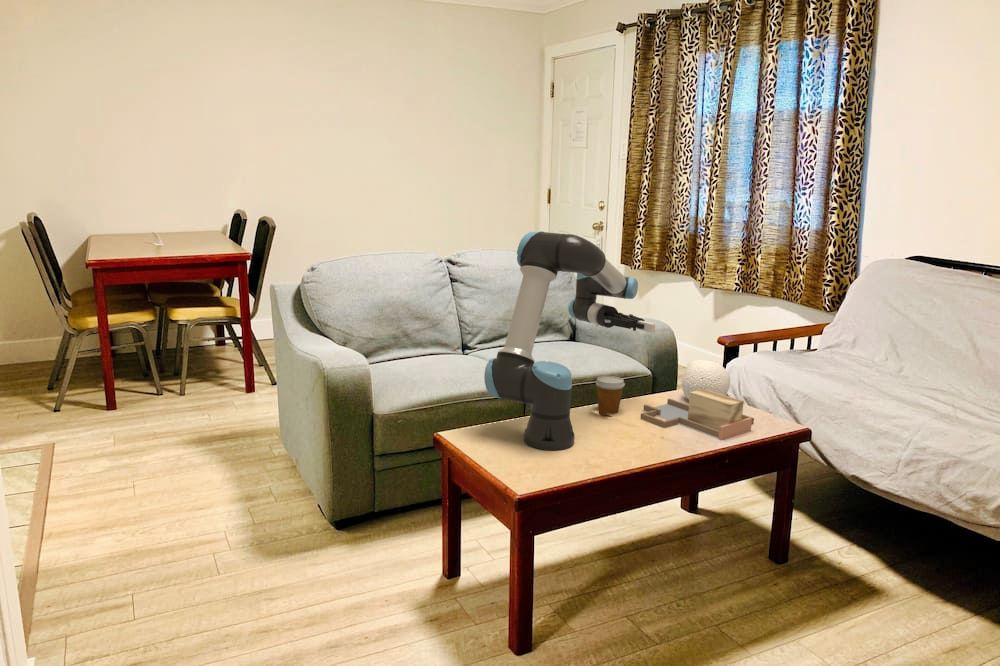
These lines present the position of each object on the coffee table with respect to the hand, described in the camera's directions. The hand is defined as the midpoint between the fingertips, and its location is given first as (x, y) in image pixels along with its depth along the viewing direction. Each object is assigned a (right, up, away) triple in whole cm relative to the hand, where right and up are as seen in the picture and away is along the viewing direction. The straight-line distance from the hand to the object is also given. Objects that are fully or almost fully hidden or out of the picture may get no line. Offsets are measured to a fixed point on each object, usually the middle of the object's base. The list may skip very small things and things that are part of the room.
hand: (653, 328), depth 250 cm
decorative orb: (+20, -26, +18) cm, 38 cm away
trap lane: (+13, -31, -2) cm, 33 cm away
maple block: (+17, -31, -8) cm, 37 cm away
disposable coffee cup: (-14, -29, +4) cm, 32 cm away
